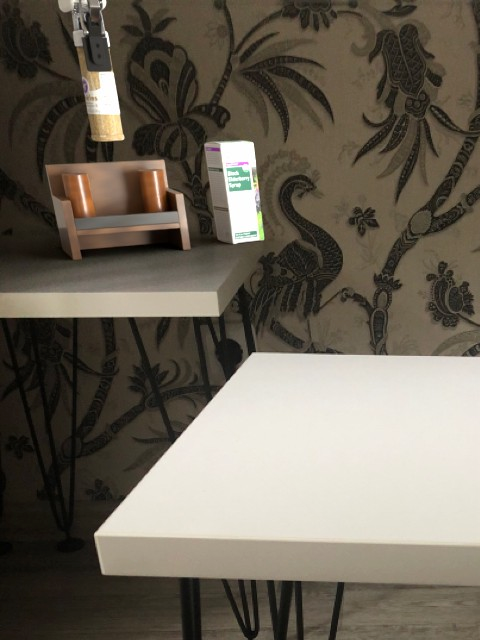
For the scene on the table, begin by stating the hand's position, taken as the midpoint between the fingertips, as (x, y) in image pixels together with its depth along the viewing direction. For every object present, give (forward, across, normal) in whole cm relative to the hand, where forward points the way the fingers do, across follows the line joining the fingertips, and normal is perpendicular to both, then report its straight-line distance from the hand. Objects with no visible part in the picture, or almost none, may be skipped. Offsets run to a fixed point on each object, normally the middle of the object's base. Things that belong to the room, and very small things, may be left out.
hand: (96, 70), depth 126 cm
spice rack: (+24, -3, +1) cm, 24 cm away
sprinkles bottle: (+9, 0, 0) cm, 9 cm away
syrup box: (+24, -4, +19) cm, 31 cm away
